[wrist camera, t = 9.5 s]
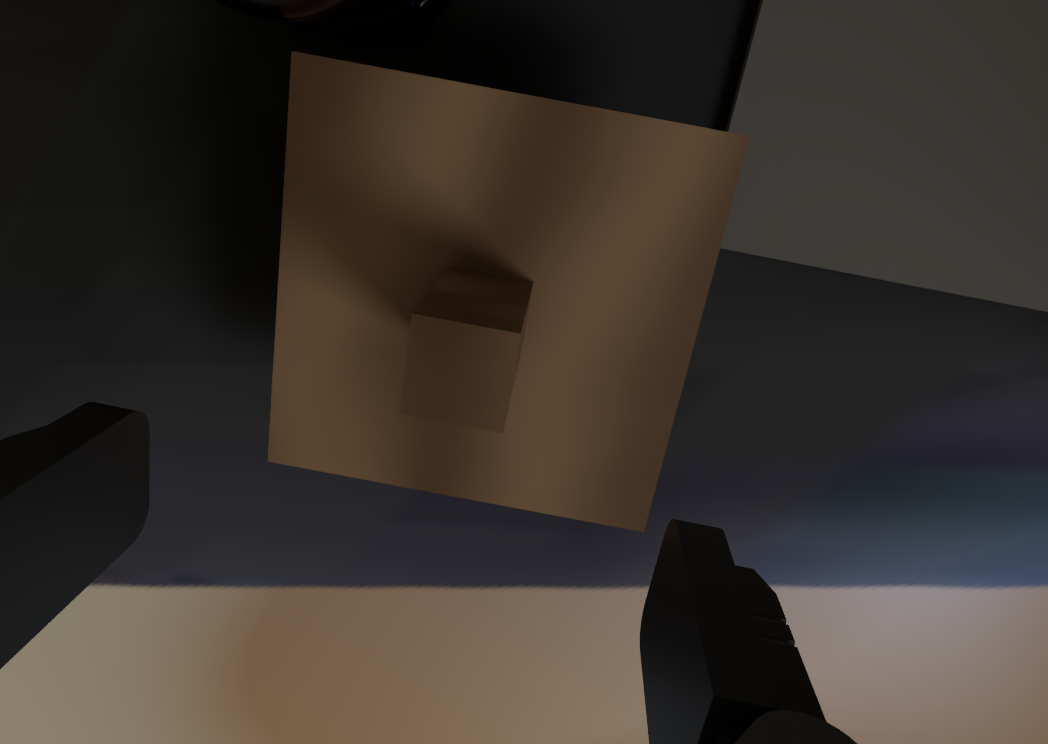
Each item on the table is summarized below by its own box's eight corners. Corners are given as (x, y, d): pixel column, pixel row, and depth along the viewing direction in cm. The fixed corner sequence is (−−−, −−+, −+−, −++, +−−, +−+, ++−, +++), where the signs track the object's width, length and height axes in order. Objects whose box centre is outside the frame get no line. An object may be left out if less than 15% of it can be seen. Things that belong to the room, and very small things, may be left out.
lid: (743, 135, 20) (807, 145, 14) (641, 518, 24) (660, 641, 18) (302, 53, 20) (197, 32, 14) (277, 450, 24) (189, 551, 18)
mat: (1258, -118, 21) (1274, -123, 21) (1062, 312, 26) (1072, 316, 25) (813, -204, 21) (819, -211, 21) (696, 241, 26) (698, 243, 25)
